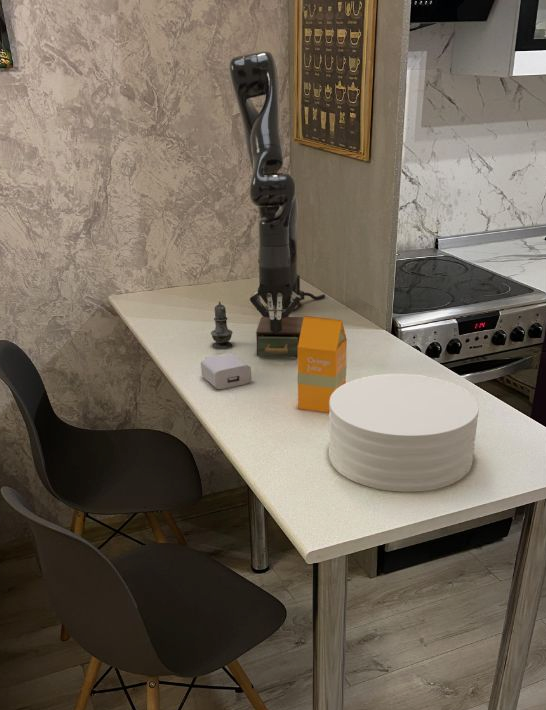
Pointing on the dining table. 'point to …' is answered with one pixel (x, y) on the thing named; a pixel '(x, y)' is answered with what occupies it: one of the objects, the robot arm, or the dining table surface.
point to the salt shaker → (221, 328)
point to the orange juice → (320, 362)
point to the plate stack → (402, 431)
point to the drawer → (278, 345)
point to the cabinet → (288, 327)
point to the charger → (225, 371)
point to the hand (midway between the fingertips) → (276, 332)
